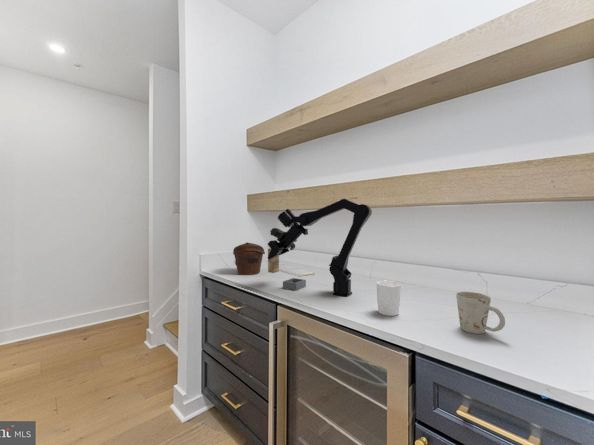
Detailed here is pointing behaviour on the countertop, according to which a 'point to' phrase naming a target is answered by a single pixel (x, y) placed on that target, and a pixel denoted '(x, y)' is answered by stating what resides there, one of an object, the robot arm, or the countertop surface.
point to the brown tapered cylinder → (248, 258)
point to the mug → (476, 312)
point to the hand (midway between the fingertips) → (270, 257)
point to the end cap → (294, 284)
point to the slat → (273, 263)
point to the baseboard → (295, 271)
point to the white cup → (388, 297)
